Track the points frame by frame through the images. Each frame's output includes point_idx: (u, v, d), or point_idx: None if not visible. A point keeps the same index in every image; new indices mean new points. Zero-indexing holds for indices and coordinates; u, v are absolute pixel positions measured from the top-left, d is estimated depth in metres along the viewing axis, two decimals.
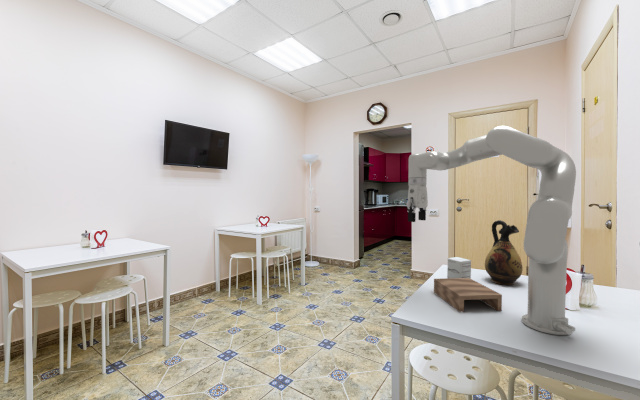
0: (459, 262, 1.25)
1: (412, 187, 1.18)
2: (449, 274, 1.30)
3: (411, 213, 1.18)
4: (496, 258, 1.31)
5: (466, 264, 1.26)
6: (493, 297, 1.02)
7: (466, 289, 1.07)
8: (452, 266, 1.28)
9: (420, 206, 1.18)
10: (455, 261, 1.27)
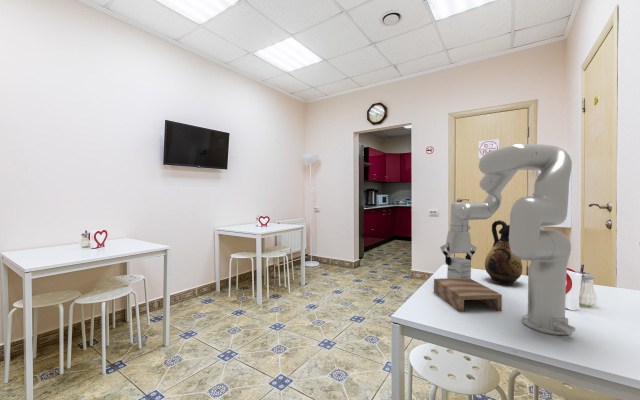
0: (459, 262, 1.25)
1: None
2: (449, 274, 1.30)
3: None
4: (496, 258, 1.31)
5: (466, 264, 1.26)
6: (493, 297, 1.02)
7: (466, 289, 1.07)
8: (452, 265, 1.28)
9: None
10: (455, 261, 1.27)
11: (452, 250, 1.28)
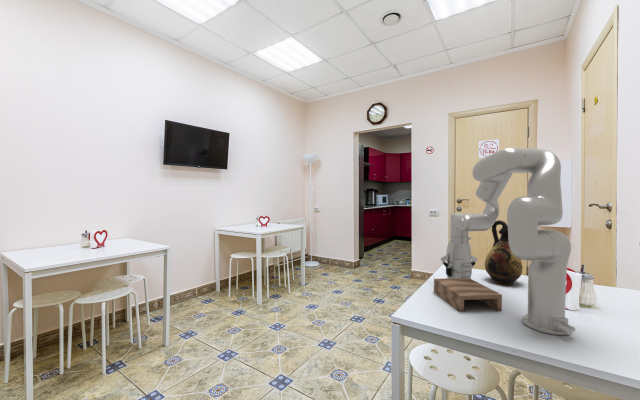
0: (459, 262, 1.25)
1: None
2: None
3: None
4: (496, 258, 1.31)
5: (466, 264, 1.26)
6: (493, 297, 1.02)
7: (466, 289, 1.07)
8: (452, 265, 1.28)
9: None
10: (455, 261, 1.27)
11: (452, 261, 1.27)
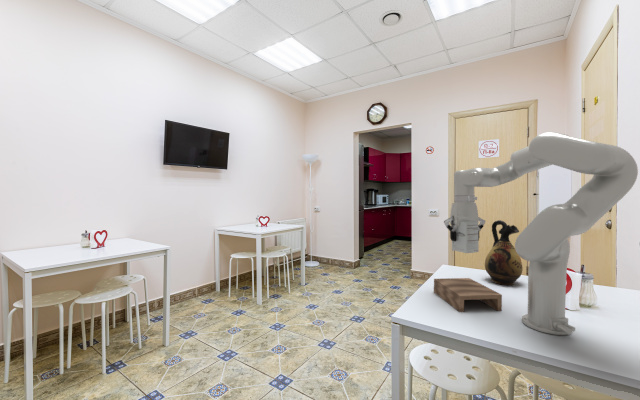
0: (464, 223, 1.11)
1: None
2: None
3: None
4: (496, 258, 1.31)
5: (473, 226, 1.12)
6: (493, 297, 1.02)
7: (466, 289, 1.07)
8: (457, 228, 1.14)
9: None
10: (460, 223, 1.13)
11: (457, 223, 1.13)
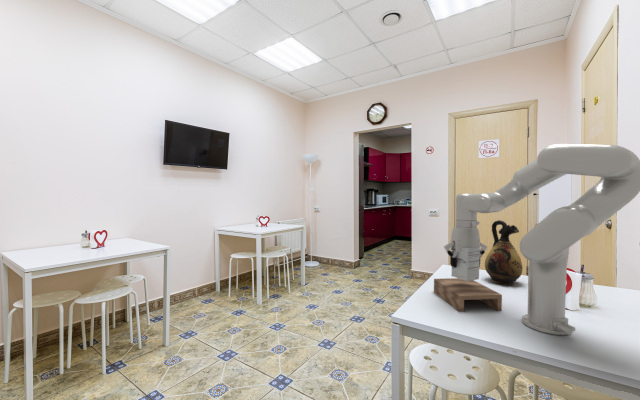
0: (466, 250, 1.07)
1: None
2: None
3: None
4: (496, 258, 1.31)
5: (474, 252, 1.08)
6: (493, 297, 1.02)
7: (466, 289, 1.07)
8: (458, 254, 1.10)
9: None
10: (461, 249, 1.08)
11: (458, 249, 1.09)
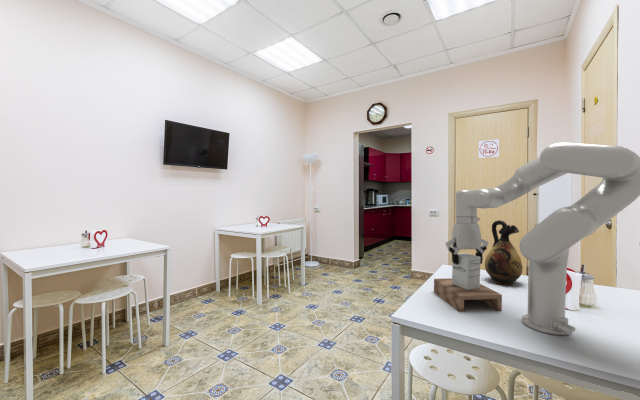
0: (466, 259, 1.07)
1: None
2: (455, 272, 1.11)
3: None
4: (496, 258, 1.31)
5: (474, 261, 1.07)
6: (493, 297, 1.02)
7: None
8: None
9: None
10: (461, 257, 1.08)
11: (459, 246, 1.08)
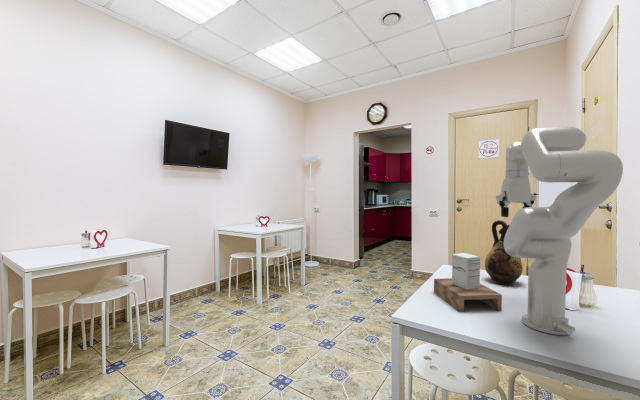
0: (465, 259, 1.07)
1: None
2: (454, 272, 1.11)
3: None
4: (496, 258, 1.31)
5: (474, 261, 1.07)
6: (493, 297, 1.02)
7: None
8: (458, 263, 1.10)
9: None
10: (461, 257, 1.09)
11: (510, 199, 1.11)
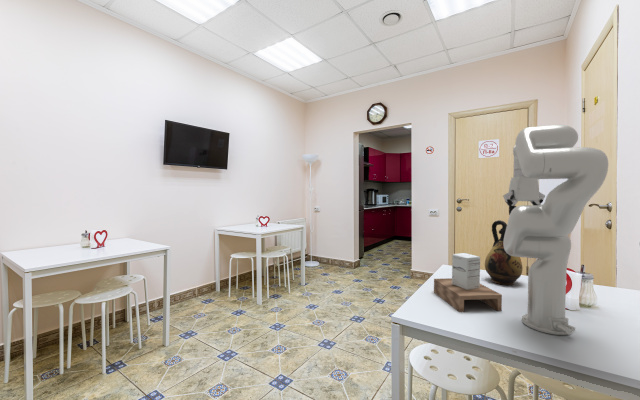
0: (465, 259, 1.07)
1: None
2: (454, 272, 1.11)
3: None
4: (496, 258, 1.31)
5: (474, 261, 1.07)
6: (493, 297, 1.02)
7: None
8: (458, 263, 1.10)
9: None
10: (461, 257, 1.09)
11: (518, 198, 1.12)
